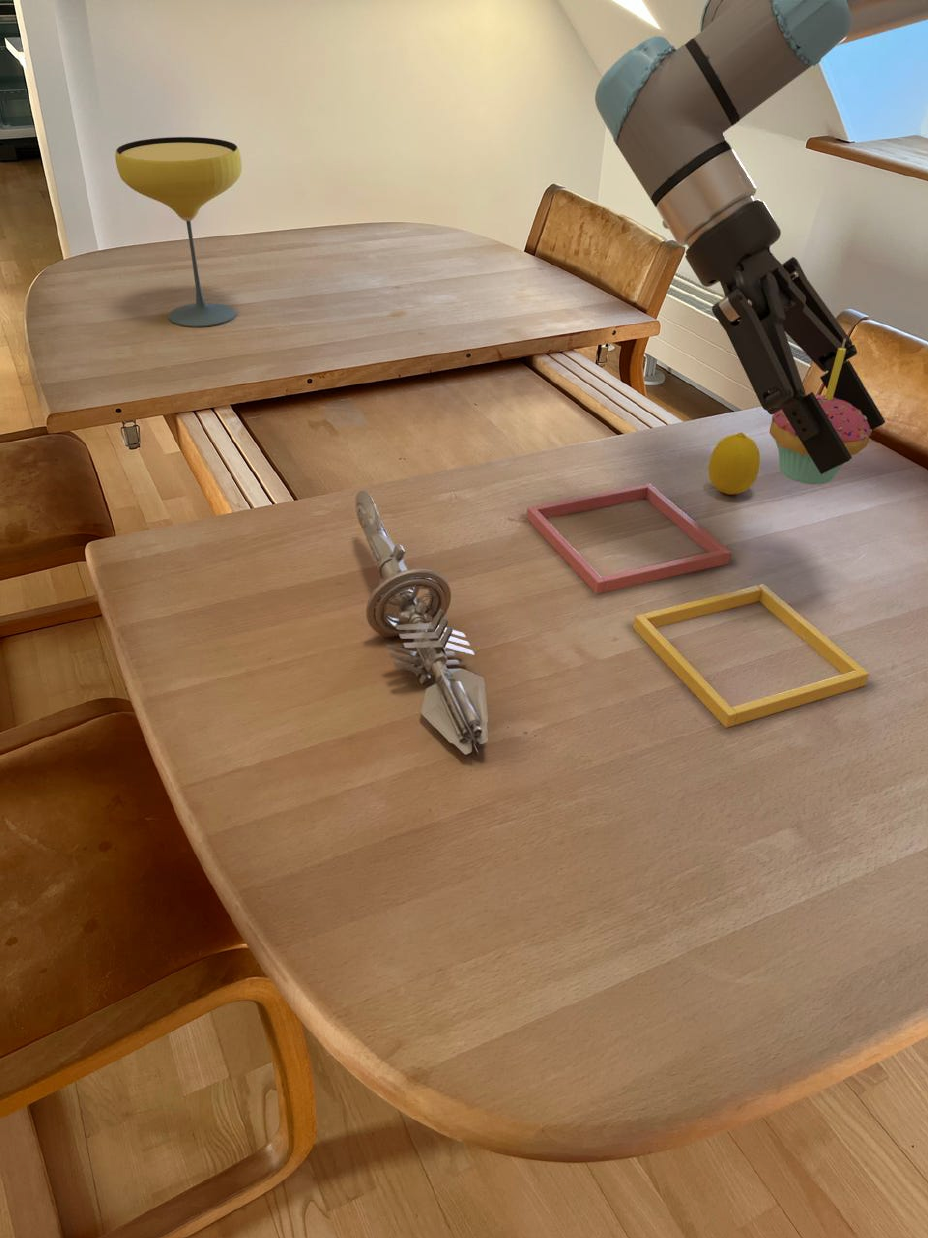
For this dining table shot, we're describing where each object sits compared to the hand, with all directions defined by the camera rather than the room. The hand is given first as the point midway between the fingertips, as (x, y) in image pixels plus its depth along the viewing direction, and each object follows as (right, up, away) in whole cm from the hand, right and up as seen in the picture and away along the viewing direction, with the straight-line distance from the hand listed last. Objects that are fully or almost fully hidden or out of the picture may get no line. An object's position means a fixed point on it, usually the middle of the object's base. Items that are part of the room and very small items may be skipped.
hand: (854, 447), depth 82 cm
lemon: (-4, -1, +27) cm, 27 cm away
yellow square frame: (-9, -19, +2) cm, 21 cm away
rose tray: (-17, -7, +17) cm, 26 cm away
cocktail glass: (-77, +35, +72) cm, 111 cm away
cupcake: (-3, -2, +4) cm, 5 cm away
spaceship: (-39, -17, +4) cm, 43 cm away
